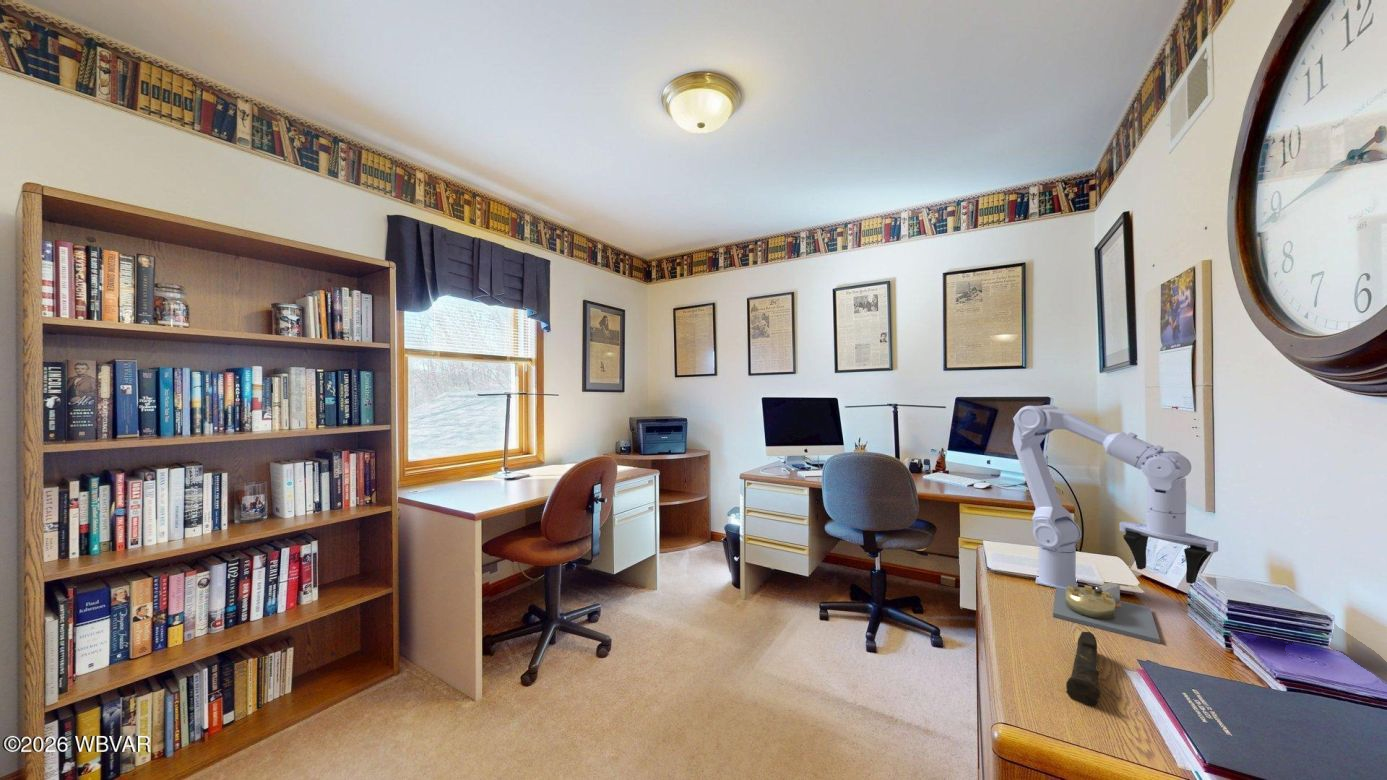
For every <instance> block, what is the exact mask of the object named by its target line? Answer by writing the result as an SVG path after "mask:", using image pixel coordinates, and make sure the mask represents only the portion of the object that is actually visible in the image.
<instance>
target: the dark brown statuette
mask: <svg viewBox="0 0 1387 780" xmlns="http://www.w3.org/2000/svg"><path fill="white" fill-rule="evenodd" d="M1096 639H1097V638H1096V637H1095V634H1093V632H1090V631H1081V633H1080V635H1079V637H1078V639H1077V644H1076V645H1077V647H1076V654H1075V657H1074V660H1073V667H1072V672H1071V676H1070V677H1069V678H1068V679H1067V681H1066V683H1065V684H1066V686H1065V687H1066V692H1065V693H1066V694H1067V695H1068V697H1069V698H1070V699H1071V700H1072V701H1073V700H1074V701H1076V702H1078V703H1081V704H1083V705H1087V706H1091V707H1097V705H1099V704H1098V703H1099V700H1100V698H1101V690H1100V688H1099V687H1098V684H1099V677H1100V672H1099V670H1098V644H1097V640H1096Z"/></svg>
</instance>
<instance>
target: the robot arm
mask: <svg viewBox="0 0 1387 780" xmlns="http://www.w3.org/2000/svg"><path fill="white" fill-rule="evenodd" d="M1012 420H1013V423H1014V429H1013V434H1012V444H1013V447H1014V450H1015V453H1016V456H1017V459H1018V461H1019V464H1020V467H1021V471H1022V473H1023V476H1024V478H1025V482H1026V486H1027V487H1028V490H1029V494H1030V496H1031V500H1032V501H1033V502H1032V503H1033V506H1034V508H1035V510H1034V512H1033V515H1032V517H1031V521H1032V523H1033V528H1032V535H1033V538H1034V540H1035V541H1036V543H1038V570H1039V571H1038V570H1037V572H1038V576H1039V577H1037V576H1036V578H1035V584H1038V585H1041V586H1046V587H1050V588H1054V589H1056V587H1059V588H1063V589H1067V586H1068V585H1073V586H1076V587H1079V586H1078V585H1079V584H1078V583H1079V582H1078V583H1076V578H1077V576H1076V575H1077V574H1076V572H1077V571H1076V569H1077V568H1076V567H1077V565H1076V563H1077V562H1076V559H1077V557H1076V556H1077V554H1076V553H1077V551H1076V550H1077V547H1076V543H1077V542H1079V541H1080V540H1081V537H1082V531H1081V528H1080V526H1079V525H1078V523H1077V522H1075V520H1074V519H1073V517H1072V514H1071V513H1070V511H1069V510H1067V509H1066V508H1065V507H1064V506H1062V502H1061V499H1060V497H1059V493H1058V492H1057V489H1056V485H1055V483H1054V480H1053V478H1052V475H1051V472H1050V469H1049V467H1048V464H1047V461H1046V458H1045V454H1044V453H1043V450H1042V448H1041V443H1042V442H1043V440H1044V439H1045V437H1046V436H1047V435H1049V434H1050V433H1051V432H1053V431H1055V430H1066V431H1069V432H1071V433H1073V434H1075V435H1078V436H1080V437H1083V438H1084V439H1087V440H1089V441H1091V442H1093V443H1097V444H1098V445H1101V446H1102V447H1103V448H1104V450H1105V453H1106V454H1107V455H1109V456H1111V457H1113V458H1115V459H1117V460H1119V461H1122V462H1123V463H1126V464H1128V465H1129V466H1132V467H1134V468H1136V469H1138V470H1141V472H1142V473H1143V475H1144V476H1145V477H1146V478H1147V480H1146V481H1147V483H1146V524H1142V523H1135V522H1131V521H1130V522H1129V521H1125V520H1124V521H1120V522H1119V532H1123V533H1125V534H1124V535H1122V536H1123V540H1124V541H1125V543H1126V544H1127V545H1128V547H1129V549H1130V551H1131V553H1132V556H1133V559H1134V562H1135V565H1136V569H1137V570H1144V569H1146V567H1147V546H1148V540H1149V538H1153V539H1156V540H1161V541H1165V542H1170V543H1174V544H1179V545H1183V546H1187V547H1186V548H1184V549H1183V552H1184V555H1185V563H1186V574H1185V581H1186V583H1188V584H1191V585H1192V584H1195V583H1196V581H1197V578H1198V574H1199V573H1200V570H1201V568H1202V566H1203V565H1204V563H1205V562H1206V560H1207V559H1208V558H1209V556H1210V555H1212V553H1216V552H1218V551H1219V541H1218V540H1214V539H1209V538H1206V537H1201V536H1199V535H1196V534H1191V533H1188V532H1187V478H1186V477H1187V476H1188V475H1189V474H1190V473H1191V472H1192V464H1191V462H1190V460H1189V459H1188V458H1187V457H1186V456H1184V455H1183V454H1181V453H1180V452H1178V451H1176V450H1167V451H1164V448H1165V447H1164V446H1161V445H1154V444H1151V443H1148V442H1147V441H1144V440H1142V439H1140V438H1138V434H1136V433H1133V432H1128V433H1127V432H1123V431H1122V432H1115V433H1112V432H1110V431H1108V430H1107V429H1104V428H1102V427H1100V426H1098V425H1096V424H1094V423H1092V422H1090V421H1088V420H1087V419H1084V418H1082V417H1081V416H1078V415H1076V414H1074V413H1072V412H1070V411H1069V410H1067V409H1064V408H1058V406H1056V405H1053V404H1043V405H1026V406H1023V407H1021V408H1020V409H1019V410H1018V412H1017V413H1016V414H1015V415H1014V417H1012Z"/></svg>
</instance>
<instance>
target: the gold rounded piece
mask: <svg viewBox="0 0 1387 780" xmlns="http://www.w3.org/2000/svg"><path fill="white" fill-rule="evenodd" d="M1120 590H1121V585H1120V584H1117V583H1114V582H1112V581H1111V582H1108V583H1105V584H1102V585H1099V586H1095V587H1094V589H1093V586H1091V585H1085V584H1084V587H1083V586H1078V587H1076V586H1073V585H1068V586H1067V589H1066V605H1067V606H1068V607H1069V608H1070V609H1072V610H1073V611H1076V612H1078V613H1080V614H1083V615H1087V616H1090V617H1095V618H1103V619H1110V618H1113V617H1115V603H1117V602H1119V601H1121V595H1120V594H1121V591H1120Z"/></svg>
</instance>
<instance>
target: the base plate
mask: <svg viewBox="0 0 1387 780" xmlns="http://www.w3.org/2000/svg"><path fill="white" fill-rule="evenodd" d="M1054 592H1055V593H1054V600H1053V601H1054V603H1053V609H1052V610H1053V611H1052V617H1053V618H1056V619H1060V620H1064V621H1065V620H1066V621H1068V622H1073V623H1077V624H1081V625H1085V626H1087V627H1093V628H1096V629H1101V630H1104V631H1108V632H1113V633H1116V634H1120V635H1124V636H1128V637H1132V638H1135V639H1138V640H1142V641H1143V640H1144V641H1148V642H1151V643H1155V644H1161V643H1160V642H1161V641H1160V635H1159V633H1158V632H1159V631H1158V629H1157V626H1156V623H1155V620H1154V616H1153V613H1152V610H1151V608H1150V607H1149V606H1146V605H1139V604H1135V603H1131V602H1127V601H1122V600H1120V601H1119V602H1117V603H1115V617H1113V618H1110V619H1103V618H1095V617H1090V616H1087V615H1083V614H1080V613H1078V612H1076V611H1073V610H1072V609H1070V608H1069V607H1068V606H1067V605H1066V589H1063V588H1059V587H1056V588H1055V591H1054Z"/></svg>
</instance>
